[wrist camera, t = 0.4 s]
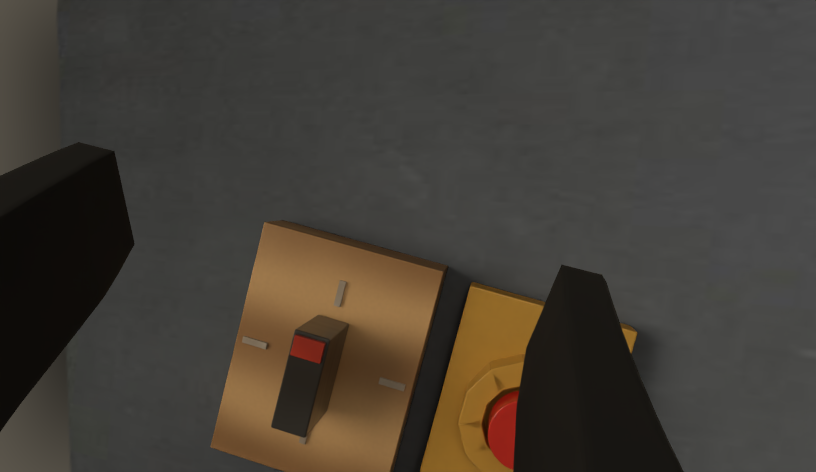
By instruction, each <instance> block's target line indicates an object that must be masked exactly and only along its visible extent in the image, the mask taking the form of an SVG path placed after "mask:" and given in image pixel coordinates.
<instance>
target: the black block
mask: <svg viewBox="0 0 816 472" xmlns="http://www.w3.org/2000/svg"><path fill="white" fill-rule="evenodd" d="M348 327H349V324H348V323H346V322H342V321H339V320H335V319H332V318H329V317H325V316H322V315H317V316H315V317H314V318H312V319H311V320H309V321H308V322H306V323H304V324H303V325H301V326H300V327H298V328H297V329H295V331H294V335H293V339H292V343H291V347H290V351H289V355H288V359H287V363H286V367H285V371H284V375H283V379H282V383H281V387H280V391H279V395H278V399H277V403H276V407H275V411H274V415H273V419H272V423H271V427H272V428H274V429H278V430H281V431H284V432H287V433H290V434H293V435H296V436H300V437H303V438H305V437H306V436H307V435H308V434H309V432H310V431H311V430H312V429H313V427H314V426H315V425H316V424H317V423H318V421H319V420H320V419H321V418H322V416H323V415H324V414H325V413H326V411H327V409H328V406H329V402H330V398H331V394H332V390H333V386H334V382H335V378H336V374H337V370H338V366H339V363H340V359H341V355H342V351H343V347H344V343H345V339H346V335H347V331H348Z"/></svg>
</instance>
